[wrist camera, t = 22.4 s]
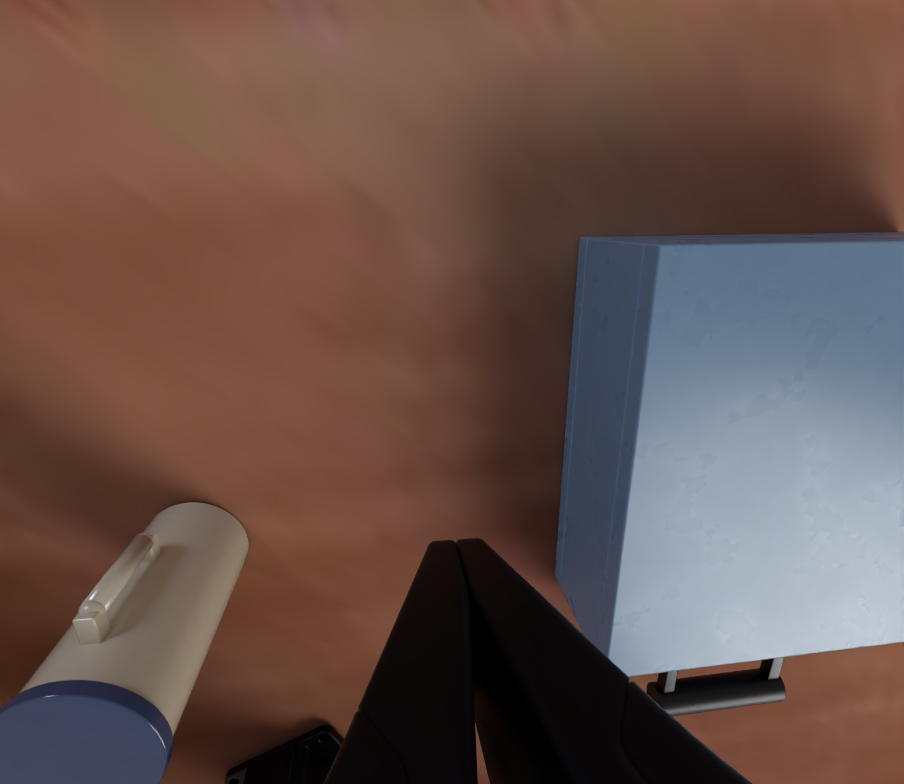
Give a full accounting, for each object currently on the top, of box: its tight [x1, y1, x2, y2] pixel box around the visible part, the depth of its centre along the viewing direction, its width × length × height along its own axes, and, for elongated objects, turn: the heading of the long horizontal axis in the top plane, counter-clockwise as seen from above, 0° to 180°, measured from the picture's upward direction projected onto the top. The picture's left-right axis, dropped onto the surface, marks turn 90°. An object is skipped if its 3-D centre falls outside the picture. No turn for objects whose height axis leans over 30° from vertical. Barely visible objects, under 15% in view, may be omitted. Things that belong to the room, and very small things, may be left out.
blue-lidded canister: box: [0, 502, 249, 784], centre depth 18 cm, size 6×5×10 cm
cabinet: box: [555, 232, 904, 677], centre depth 21 cm, size 17×15×6 cm
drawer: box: [629, 644, 885, 716], centre depth 22 cm, size 20×14×4 cm
